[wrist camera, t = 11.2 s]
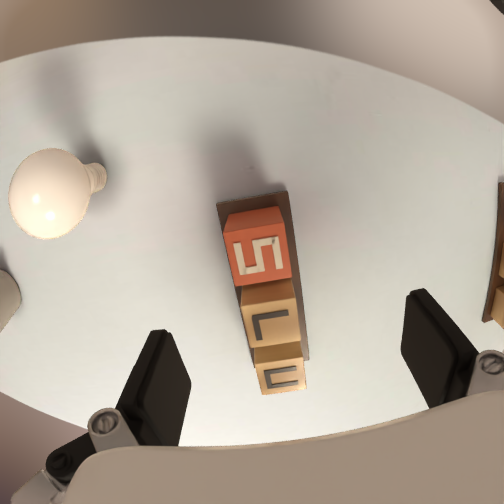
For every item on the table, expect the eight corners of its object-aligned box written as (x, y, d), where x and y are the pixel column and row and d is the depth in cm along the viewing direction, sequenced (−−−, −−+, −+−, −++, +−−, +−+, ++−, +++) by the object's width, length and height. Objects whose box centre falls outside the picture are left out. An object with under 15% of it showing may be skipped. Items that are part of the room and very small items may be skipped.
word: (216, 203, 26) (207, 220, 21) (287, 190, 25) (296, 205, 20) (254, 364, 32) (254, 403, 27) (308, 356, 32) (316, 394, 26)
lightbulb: (125, 137, 24) (51, 144, 13) (131, 207, 26) (67, 252, 16) (67, 147, 24) (-14, 163, 13) (75, 212, 26) (2, 254, 16)
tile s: (228, 214, 26) (222, 233, 21) (278, 205, 25) (284, 222, 21) (238, 260, 27) (235, 287, 22) (285, 252, 27) (292, 278, 22)
